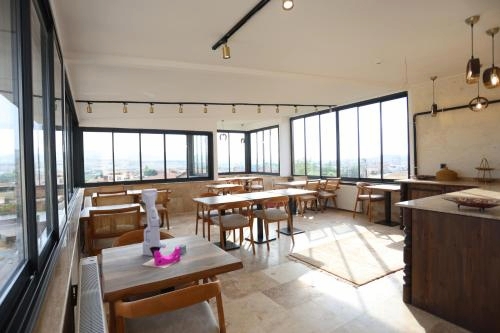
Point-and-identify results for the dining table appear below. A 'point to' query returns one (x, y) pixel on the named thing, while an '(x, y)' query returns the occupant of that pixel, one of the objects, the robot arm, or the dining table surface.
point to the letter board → (152, 263)
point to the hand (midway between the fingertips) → (155, 258)
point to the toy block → (166, 257)
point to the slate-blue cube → (182, 248)
